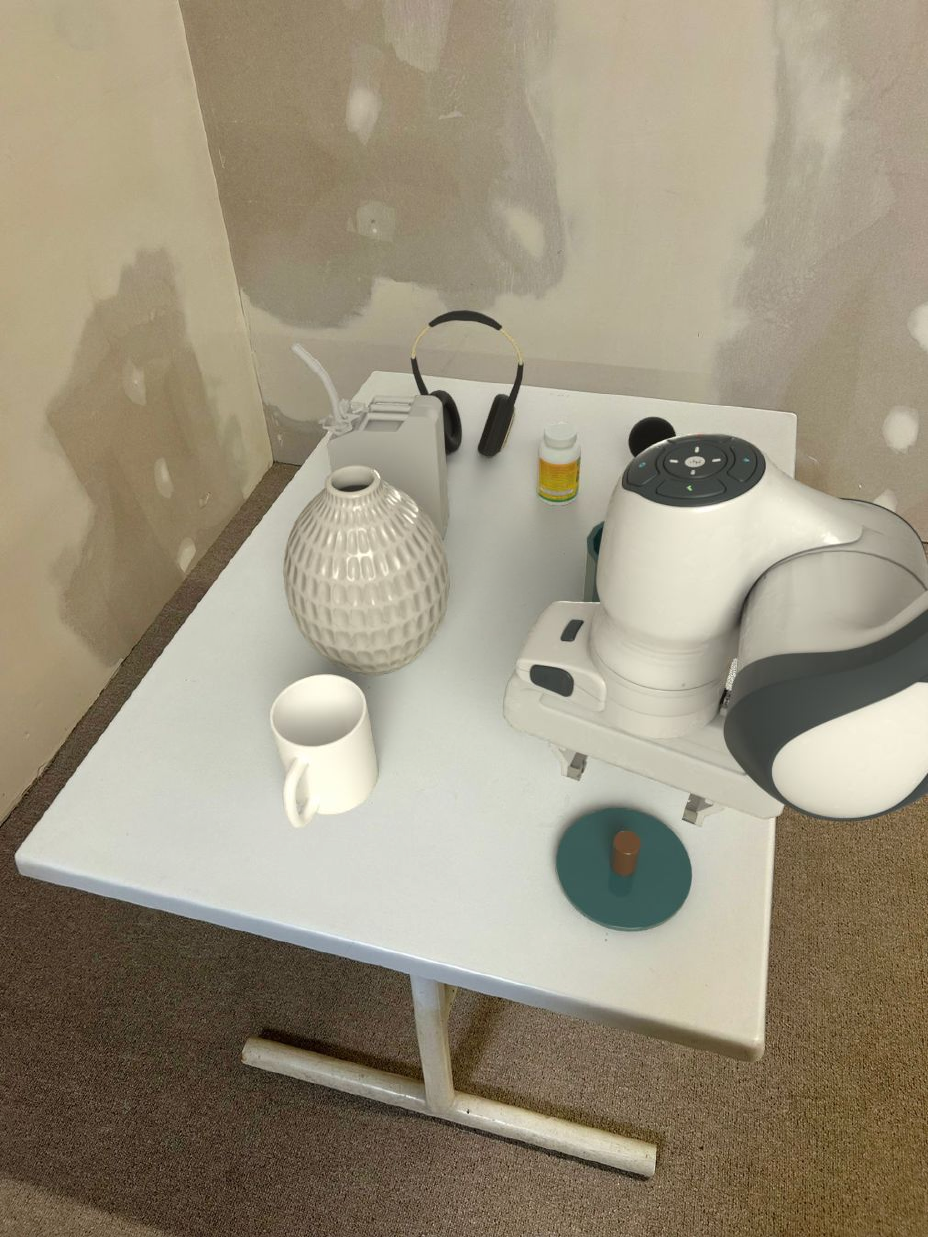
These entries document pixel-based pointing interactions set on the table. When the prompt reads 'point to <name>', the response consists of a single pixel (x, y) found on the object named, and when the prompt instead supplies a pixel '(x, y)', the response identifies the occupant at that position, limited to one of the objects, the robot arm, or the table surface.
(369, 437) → the fuel canister
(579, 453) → the supplement bottle
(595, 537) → the cooking pot
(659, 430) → the light bulb
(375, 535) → the vase
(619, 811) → the lid
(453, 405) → the headphones
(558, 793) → the table surface
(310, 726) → the cup
